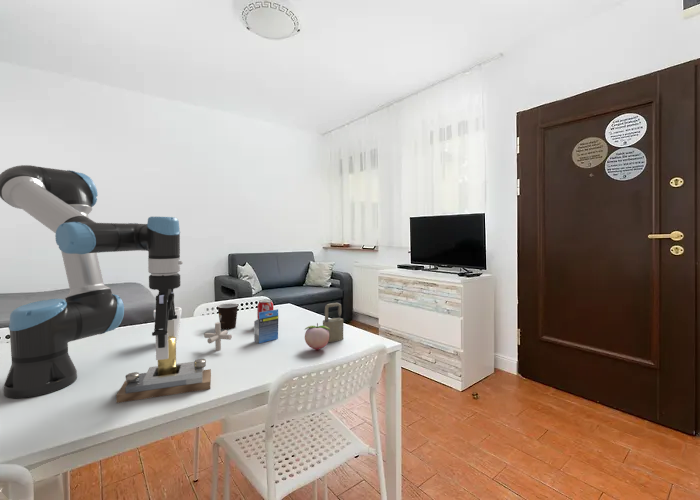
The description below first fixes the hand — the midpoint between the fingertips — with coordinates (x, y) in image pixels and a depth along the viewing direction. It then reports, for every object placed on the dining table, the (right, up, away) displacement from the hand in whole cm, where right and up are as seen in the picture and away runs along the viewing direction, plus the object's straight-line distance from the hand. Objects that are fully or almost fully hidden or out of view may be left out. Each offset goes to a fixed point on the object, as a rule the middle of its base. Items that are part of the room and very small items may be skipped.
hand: (166, 350), depth 93 cm
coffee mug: (-4, -8, +57) cm, 58 cm away
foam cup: (-20, -9, +38) cm, 44 cm away
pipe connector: (+2, -9, +30) cm, 32 cm away
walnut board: (0, -11, +1) cm, 11 cm away
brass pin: (0, -9, +1) cm, 9 cm away
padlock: (+44, -9, +42) cm, 62 cm away
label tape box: (+17, -9, +42) cm, 46 cm away
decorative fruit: (+39, -9, +31) cm, 50 cm away
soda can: (+12, -8, +60) cm, 62 cm away
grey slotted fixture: (0, -9, 0) cm, 9 cm away
